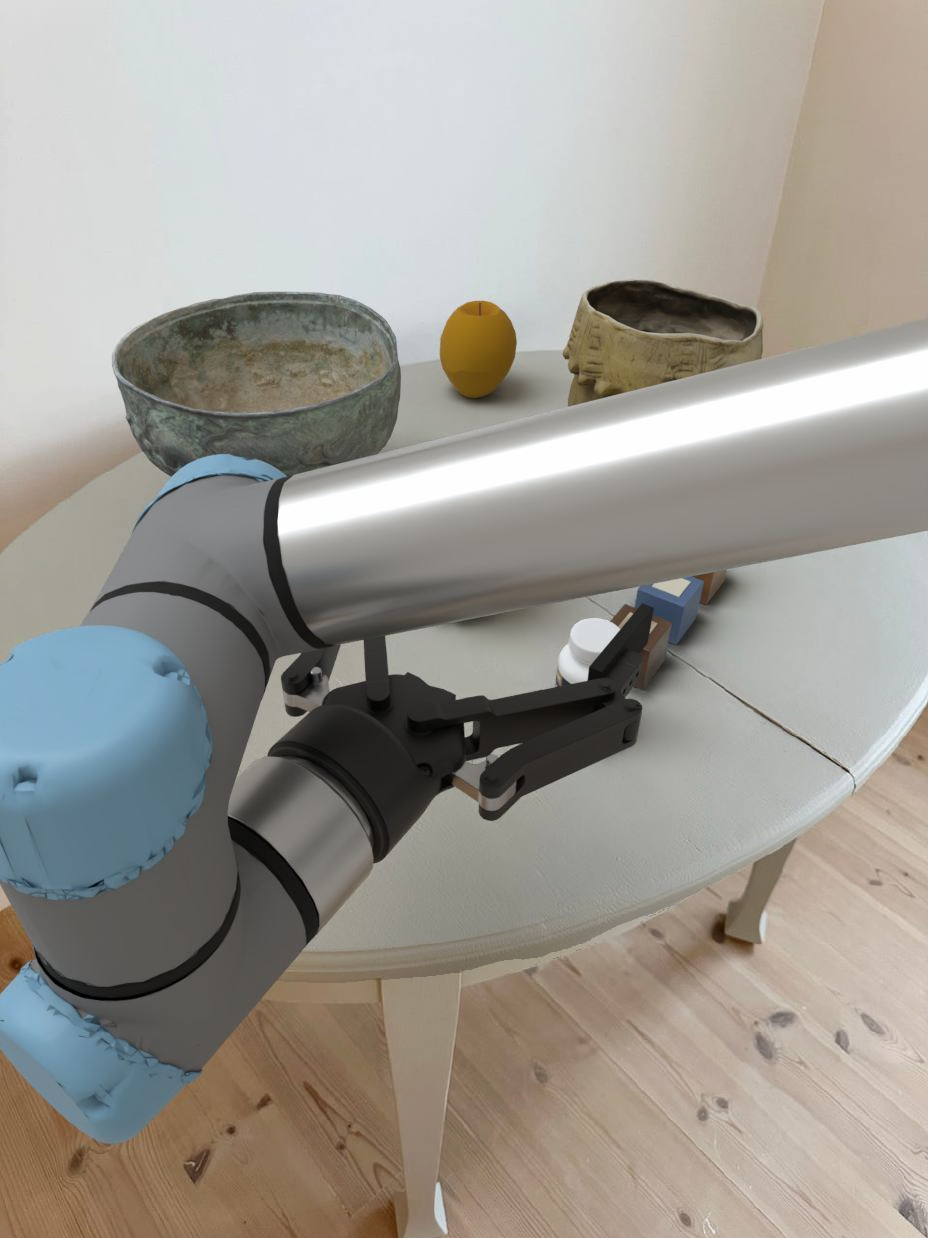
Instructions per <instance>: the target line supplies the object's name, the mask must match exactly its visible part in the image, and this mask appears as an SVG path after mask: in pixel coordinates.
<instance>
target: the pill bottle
mask: <svg viewBox="0 0 928 1238" xmlns="http://www.w3.org/2000/svg"><path fill="white" fill-rule="evenodd" d="M610 621H611V620H607V619H605V618H600V617H589V618H584V619H581V620H578V621H577V622H576V623H575V624H574V625H573V626H572V627H571V629H570V633H569V635H570V636H569V640H568V643H566V644H565V646H563V648H562V649H561V650H560V653H559V654H558V658H557V659H558V660H557V666H556V673H555V674H556V675H555V683H554V687H559V686H564V685H569V684H574V683H579V682H584V681H587V680H588V672H589V666H590V665H591V664H592V663H593V662H594V660H595V659H596V658H597V657H598V656H599V654H600V653H601V652H602V651H603V650H604V648H605V647H606V646H607V645H608V644H609V642H610V641H611V640H612V639H613V638H614V636H615V635H616V634H617V633H618V632H619V630H620V629H619V627H618V626H616V625H615V624H614V623H612V622H610Z"/></svg>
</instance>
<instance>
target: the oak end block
mask: <svg viewBox="0 0 928 1238" xmlns="http://www.w3.org/2000/svg"><path fill="white" fill-rule="evenodd" d="M727 571H728V569H727V570H722V571H717V572H711V573H706V574H701V575H696V576H692V577H694V578H697V579H700V580H702V581H704V585H703V589H702V594H701V598H700V602H699V604H702V605H703V604H704V605H708V604H709V602H710V601H711V599H712V598H713V597H714V595H715V594H716V593H717V592H718V590H719V589H720V587H721V586H722V585H723V584H724V582H725V579H726V575H727Z"/></svg>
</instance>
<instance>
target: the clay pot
mask: <svg viewBox="0 0 928 1238" xmlns="http://www.w3.org/2000/svg"><path fill="white" fill-rule="evenodd" d="M763 329H764V319H763V315H762V313H761V312H760V310H759V309H758V308H756V306H754V305H750V304H743V303H740V302H737V301H736V300H732V299H729V298H726V297H723V296H718V295H715V294H711V293H708V292H704V291H699V290H697V289H692V288H687V287H679V286H675V285H672V284H668V283H666V282H665V283H664V282H660V281H656V280H653V279H635V278H631V279H624V280H615V281H607V282H604V283H602V284H598V285H595V286H592V287H590V288H588V289H587V290H585V291H584V292H583V293H582V294H581V298H580V300H579V303H578V306H577V309H576V313H575V316H574V319H573V323H572V326H571V330H570V332H569V336H568V340H567V344H566V345H565V346H564V348H563V351H562V357H563V358H564V360H567V361H568V362H567V368H568V371H569V373H570V374H573V375H574V377H573V379H572V381H571V384H570V388H569V391H568V397H567V407H569V406H573V405H577V404H581V403H585V402H589V401H594V400H598V399H602V398H606V397H610V396H614V395H618V394H622V393H626V392H630V391H634V390H638V389H642V388H646V387H650V386H654V385H658V384H662V383H666V382H670V381H674V380H678V379H682V378H686V377H690V376H694V375H698V374H702V373H706V372H710V371H714V370H718V369H722V368H727V367H731V366H735V365H739V364H743V363H747V362H751V361H755V360H759V359H763V357H762V356H763V353H764V346H763V345H764V343H763V339H764V338H763V333H764V332H763Z"/></svg>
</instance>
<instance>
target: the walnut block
mask: <svg viewBox="0 0 928 1238" xmlns="http://www.w3.org/2000/svg"><path fill="white" fill-rule="evenodd" d="M636 610H637V608H635V606H632V605H629V604H627V603H624V604H623V605H622V606H621V608H620V609H619V610H618V611H617V612H616V613H615V615H613V617H612V618H611V620H609V621H610V622H612V623H614V624H615V625H616V626H618V627H619V629H621V628H622V627H623V626H624V624H625V623H626V622H627V621H628V620H629V618H630V617H631V616H632V615H633V614H634V612H635V611H636ZM671 626H672V622H669V621H667V620H664V619H662V618H659V617H657V616H654V615H653V617H652V622H651V628H650V633H649V639H648V643H647V645H646V646H645V647H644V648H643V650H642V651H641V652H640V654H641V655H642V663H641V668H640V674H639V680H638V681H637V683H636V684H635V685H634V686H633V688H636V689H639V690H641V691H644V689H645V687H646V686H647V685H648V683H650V681H651V680H652V678H653V676H655V674H656V673H657V672H658V670H659V669H660V667H661V666H662V665H663V663H664V662H665V659H666V655H667V650H668V645H669V642H668V641H669V636H670V631H671Z"/></svg>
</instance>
